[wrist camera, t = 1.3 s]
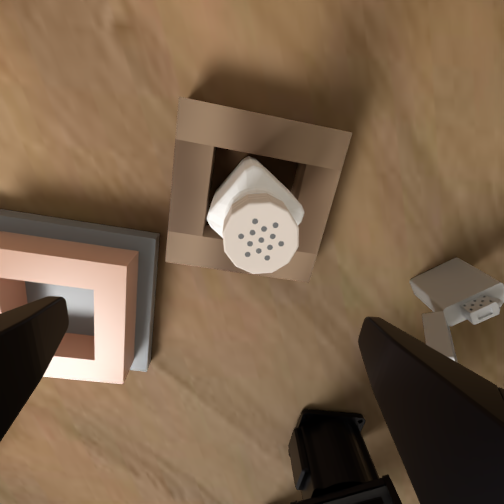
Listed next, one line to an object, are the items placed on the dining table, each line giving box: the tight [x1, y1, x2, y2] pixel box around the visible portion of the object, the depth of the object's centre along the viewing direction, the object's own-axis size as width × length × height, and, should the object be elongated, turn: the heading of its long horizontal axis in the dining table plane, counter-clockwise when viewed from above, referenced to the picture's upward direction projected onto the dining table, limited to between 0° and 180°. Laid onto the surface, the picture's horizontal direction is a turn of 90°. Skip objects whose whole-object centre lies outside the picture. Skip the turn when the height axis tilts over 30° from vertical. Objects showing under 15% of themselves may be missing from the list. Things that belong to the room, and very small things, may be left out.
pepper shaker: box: [207, 156, 304, 274], centre depth 16 cm, size 4×4×10 cm
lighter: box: [410, 257, 504, 363], centre depth 21 cm, size 7×2×8 cm, turn 119°
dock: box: [0, 209, 160, 384], centre depth 21 cm, size 12×12×4 cm
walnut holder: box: [165, 97, 352, 283], centre depth 20 cm, size 10×10×2 cm
